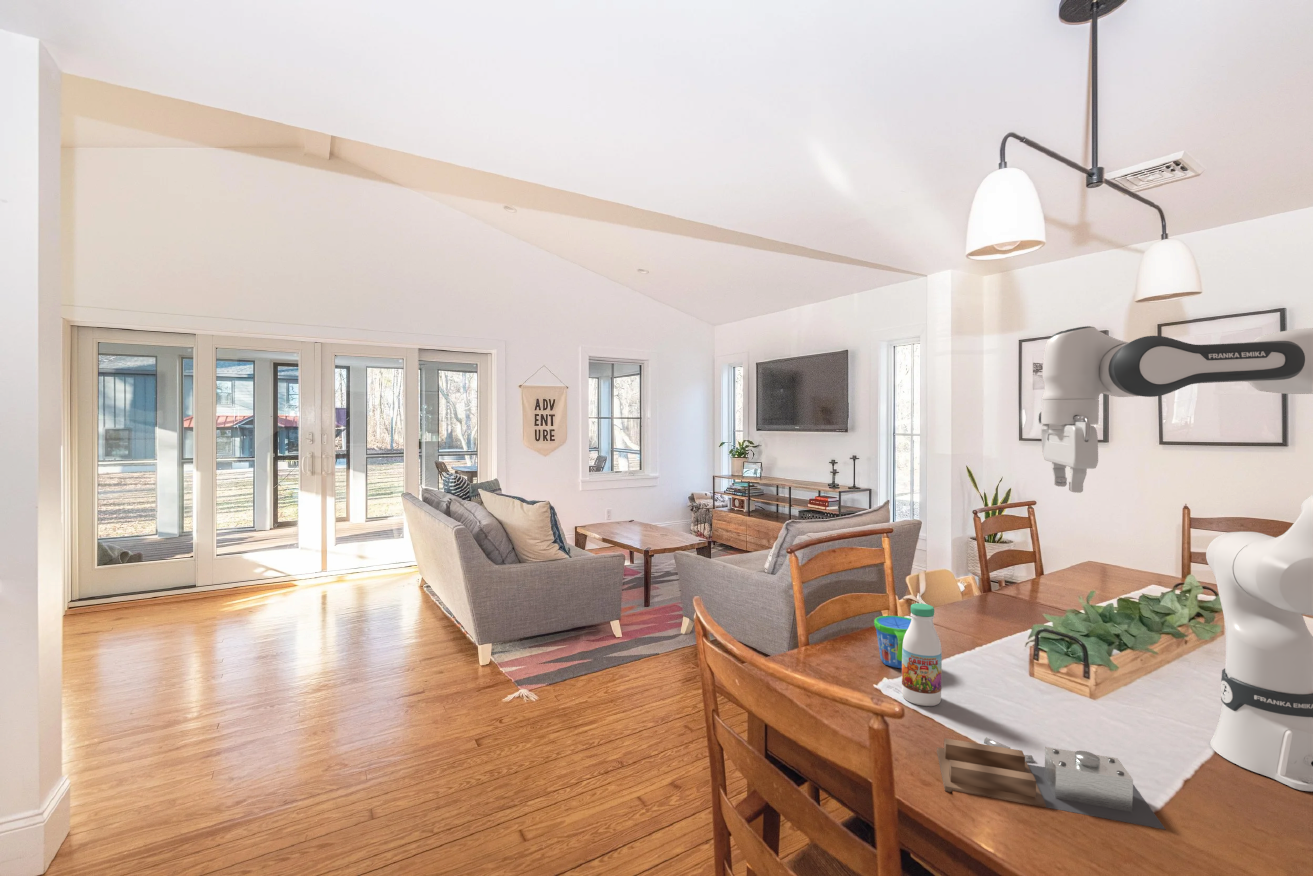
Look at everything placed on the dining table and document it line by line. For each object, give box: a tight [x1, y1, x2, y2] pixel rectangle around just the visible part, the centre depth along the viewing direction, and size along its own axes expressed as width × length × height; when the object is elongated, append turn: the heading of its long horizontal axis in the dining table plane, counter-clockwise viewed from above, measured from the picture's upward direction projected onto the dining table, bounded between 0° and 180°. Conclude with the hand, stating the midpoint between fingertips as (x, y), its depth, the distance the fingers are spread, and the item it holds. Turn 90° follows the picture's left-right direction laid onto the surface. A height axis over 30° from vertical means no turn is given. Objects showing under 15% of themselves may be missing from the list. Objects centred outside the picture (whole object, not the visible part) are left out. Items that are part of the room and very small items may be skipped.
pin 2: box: [1024, 754, 1035, 763], centre depth 105 cm, size 4×1×1 cm, turn 84°
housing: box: [1044, 746, 1134, 812], centre depth 95 cm, size 10×6×6 cm, turn 71°
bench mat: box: [1027, 763, 1166, 830], centre depth 95 cm, size 16×12×1 cm
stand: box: [936, 737, 1046, 808], centre depth 100 cm, size 14×12×3 cm
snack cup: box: [873, 615, 912, 669], centre depth 146 cm, size 16×10×10 cm
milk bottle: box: [901, 602, 943, 707], centre depth 128 cm, size 8×8×20 cm
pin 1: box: [983, 737, 1012, 749], centre depth 109 cm, size 4×1×1 cm
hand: (1067, 489), depth 113 cm, fingers open, 8 cm apart
